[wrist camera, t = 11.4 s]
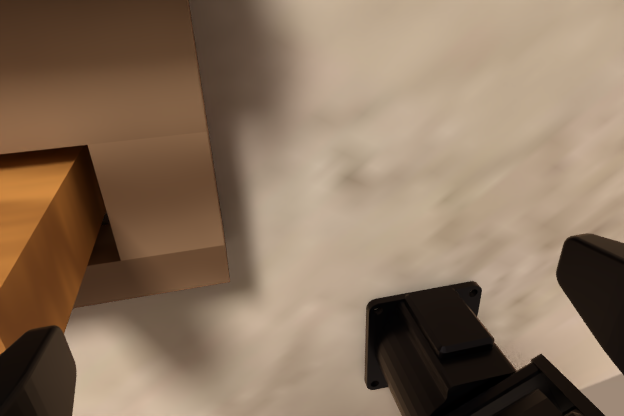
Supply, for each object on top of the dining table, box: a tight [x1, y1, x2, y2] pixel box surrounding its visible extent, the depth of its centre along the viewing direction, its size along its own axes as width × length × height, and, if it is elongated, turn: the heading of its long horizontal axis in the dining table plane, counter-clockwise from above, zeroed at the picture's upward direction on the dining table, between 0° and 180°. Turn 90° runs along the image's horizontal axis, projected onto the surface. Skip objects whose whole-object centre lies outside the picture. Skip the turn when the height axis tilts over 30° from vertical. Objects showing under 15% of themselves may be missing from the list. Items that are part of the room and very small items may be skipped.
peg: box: [0, 145, 106, 354], centre depth 14 cm, size 3×3×10 cm
